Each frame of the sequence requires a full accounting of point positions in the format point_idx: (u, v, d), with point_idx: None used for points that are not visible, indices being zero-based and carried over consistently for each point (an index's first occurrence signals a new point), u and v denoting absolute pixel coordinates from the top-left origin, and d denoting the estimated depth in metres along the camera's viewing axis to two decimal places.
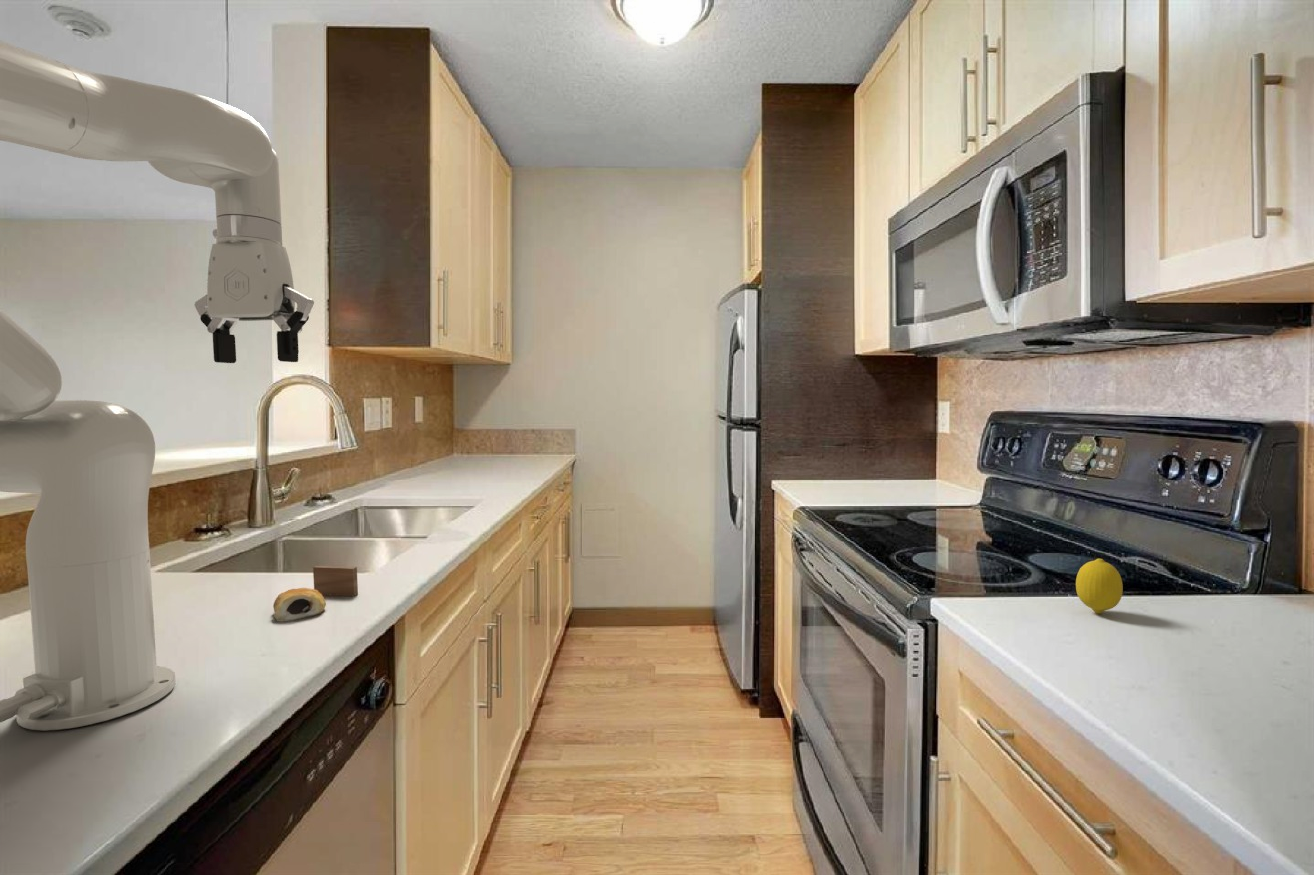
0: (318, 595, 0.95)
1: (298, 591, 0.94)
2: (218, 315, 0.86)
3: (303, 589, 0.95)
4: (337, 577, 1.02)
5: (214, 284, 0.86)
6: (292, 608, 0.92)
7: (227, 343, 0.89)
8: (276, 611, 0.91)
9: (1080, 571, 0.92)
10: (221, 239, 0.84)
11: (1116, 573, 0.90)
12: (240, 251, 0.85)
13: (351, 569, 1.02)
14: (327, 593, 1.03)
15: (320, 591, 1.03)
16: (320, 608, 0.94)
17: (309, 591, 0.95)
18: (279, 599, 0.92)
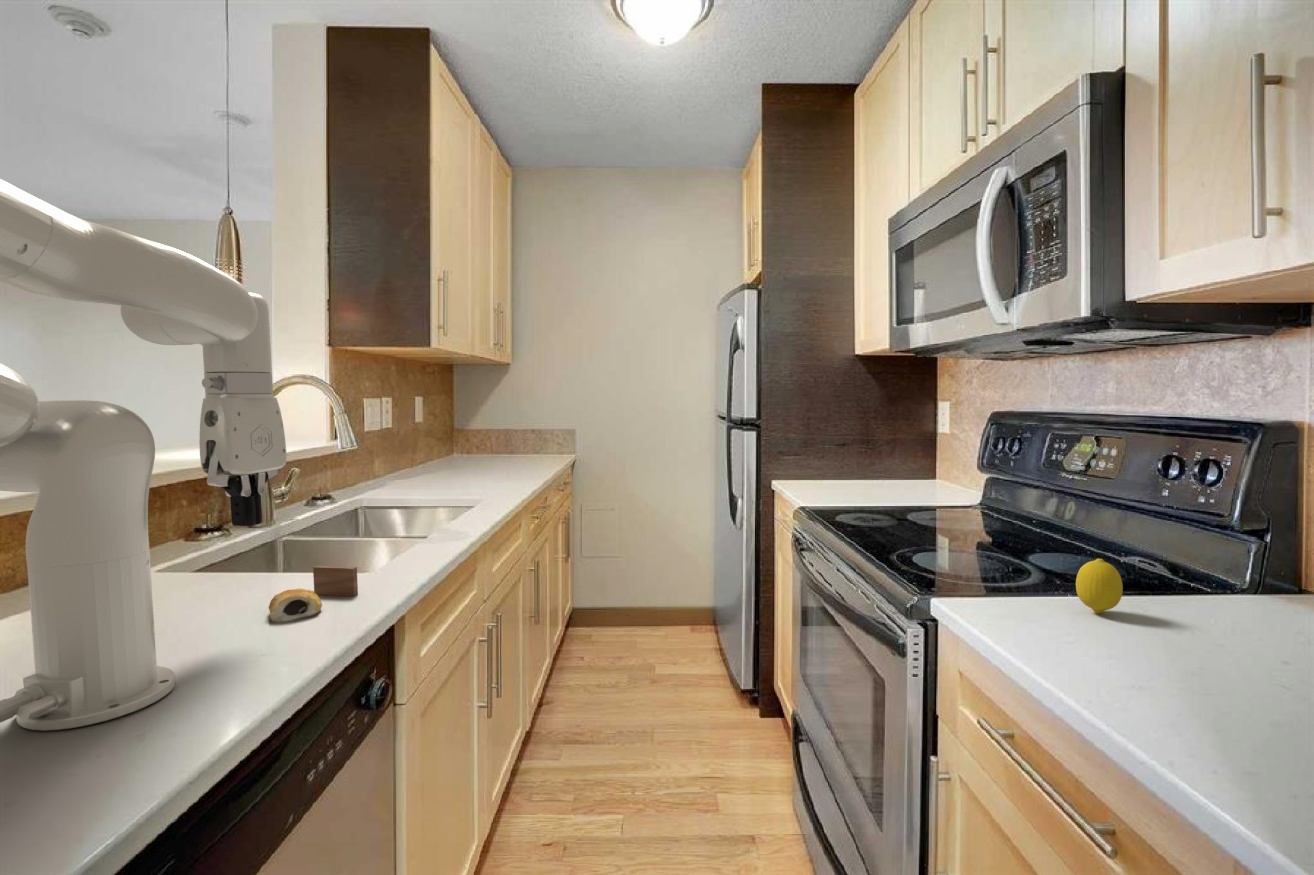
0: (314, 596, 0.95)
1: (294, 592, 0.94)
2: (244, 473, 0.82)
3: (299, 590, 0.95)
4: (337, 577, 1.02)
5: (240, 440, 0.81)
6: (289, 608, 0.92)
7: None
8: (272, 612, 0.91)
9: (1080, 571, 0.92)
10: (256, 396, 0.83)
11: (1116, 573, 0.90)
12: (263, 407, 0.85)
13: (351, 569, 1.02)
14: (327, 593, 1.03)
15: (320, 591, 1.03)
16: (317, 609, 0.93)
17: (305, 592, 0.94)
18: (275, 600, 0.92)
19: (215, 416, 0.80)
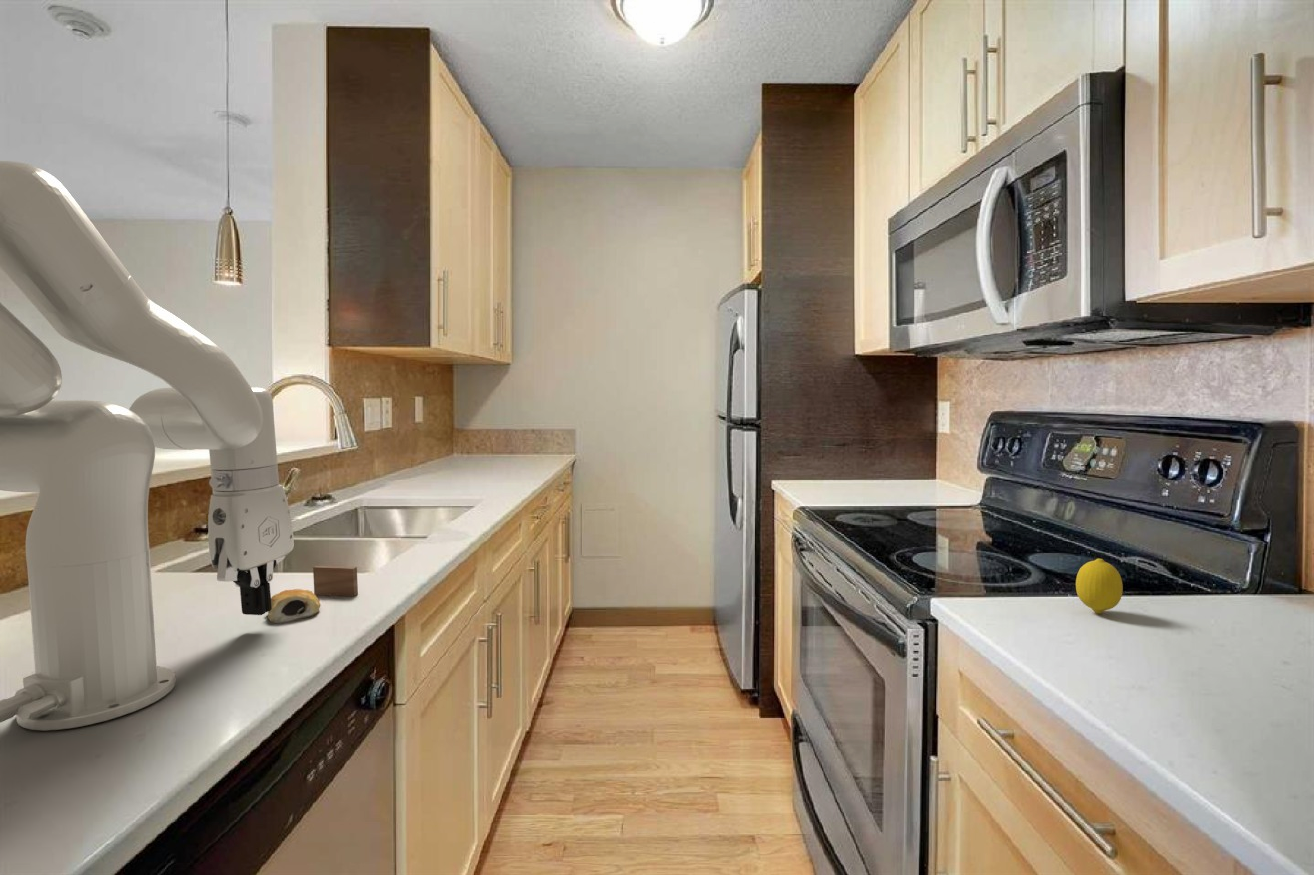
0: (313, 596, 0.95)
1: (292, 592, 0.94)
2: (253, 567, 0.83)
3: (297, 590, 0.95)
4: (337, 577, 1.02)
5: (248, 536, 0.82)
6: (287, 609, 0.91)
7: None
8: (271, 613, 0.91)
9: (1080, 571, 0.92)
10: (263, 490, 0.84)
11: (1116, 573, 0.90)
12: (270, 498, 0.86)
13: (351, 569, 1.02)
14: (327, 593, 1.03)
15: (320, 591, 1.03)
16: (315, 609, 0.93)
17: (303, 592, 0.94)
18: (273, 600, 0.92)
19: (223, 514, 0.82)
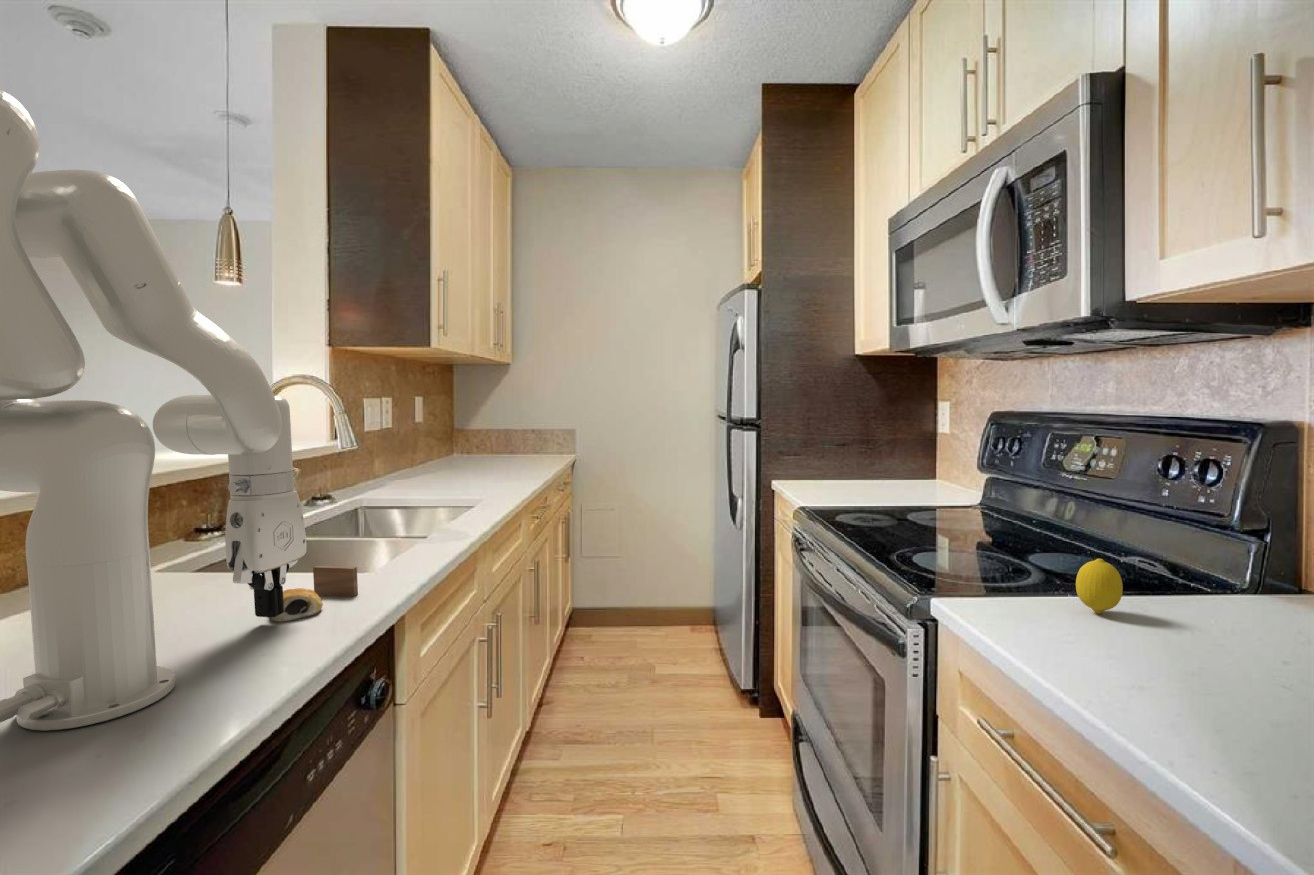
0: (315, 595, 0.95)
1: (295, 591, 0.94)
2: (267, 570, 0.86)
3: (300, 589, 0.95)
4: (337, 577, 1.02)
5: (264, 540, 0.85)
6: (290, 608, 0.92)
7: None
8: None
9: (1080, 571, 0.92)
10: (279, 495, 0.87)
11: (1116, 573, 0.90)
12: (285, 503, 0.89)
13: (351, 569, 1.02)
14: (327, 593, 1.03)
15: (320, 591, 1.03)
16: (318, 608, 0.94)
17: (306, 591, 0.95)
18: None
19: (240, 517, 0.84)
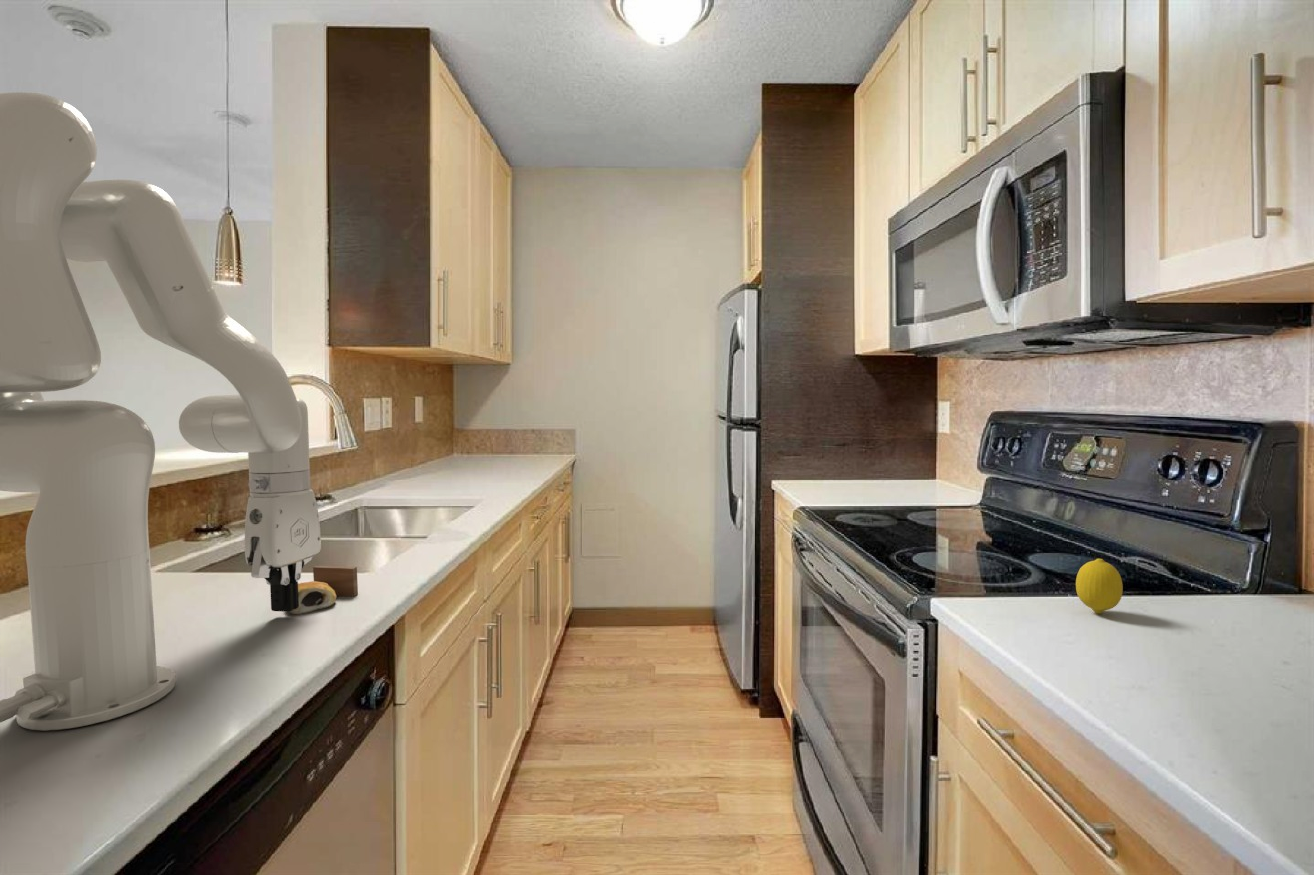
0: (329, 588, 0.98)
1: (310, 584, 0.97)
2: (284, 565, 0.89)
3: (314, 582, 0.98)
4: (337, 577, 1.02)
5: (281, 536, 0.88)
6: (307, 600, 0.95)
7: None
8: None
9: (1080, 571, 0.92)
10: (296, 493, 0.90)
11: (1116, 573, 0.90)
12: (302, 501, 0.92)
13: (351, 569, 1.02)
14: None
15: None
16: (333, 600, 0.97)
17: (320, 584, 0.98)
18: None
19: (259, 514, 0.88)
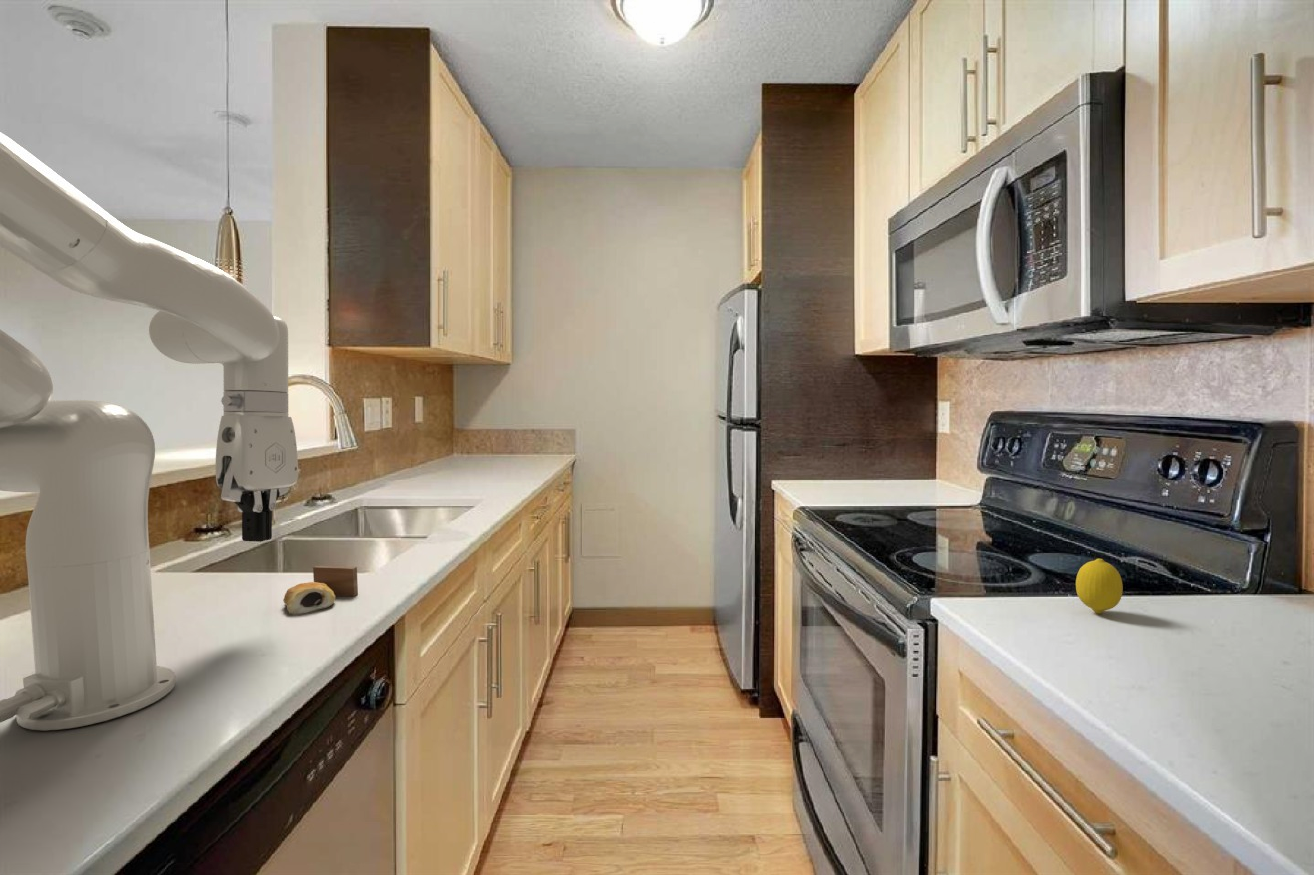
0: (328, 588, 0.98)
1: (309, 585, 0.97)
2: (257, 488, 0.84)
3: (313, 583, 0.98)
4: (337, 577, 1.02)
5: (255, 457, 0.84)
6: (306, 601, 0.95)
7: None
8: (290, 604, 0.94)
9: (1080, 571, 0.92)
10: (272, 414, 0.86)
11: (1116, 573, 0.90)
12: (278, 425, 0.88)
13: (351, 569, 1.02)
14: None
15: None
16: (332, 601, 0.97)
17: (319, 585, 0.98)
18: (291, 593, 0.95)
19: (232, 433, 0.83)
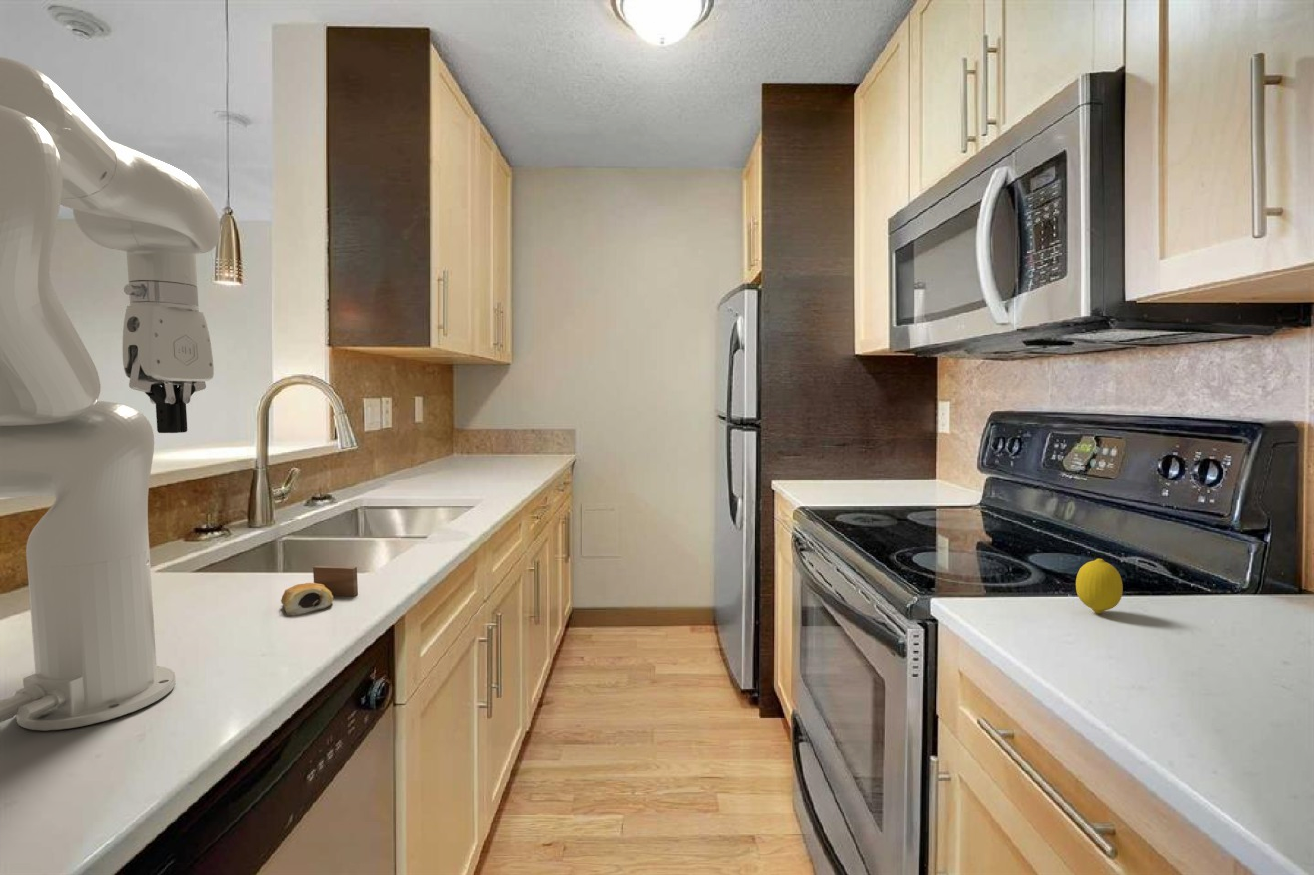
0: (326, 589, 0.98)
1: (307, 586, 0.97)
2: (166, 378, 0.85)
3: (311, 584, 0.98)
4: (337, 577, 1.02)
5: (162, 347, 0.85)
6: (304, 601, 0.95)
7: None
8: (288, 605, 0.94)
9: (1080, 571, 0.92)
10: (179, 306, 0.86)
11: (1116, 573, 0.90)
12: (188, 319, 0.88)
13: (351, 569, 1.02)
14: None
15: None
16: (330, 601, 0.97)
17: (317, 585, 0.98)
18: (289, 594, 0.95)
19: (137, 322, 0.84)
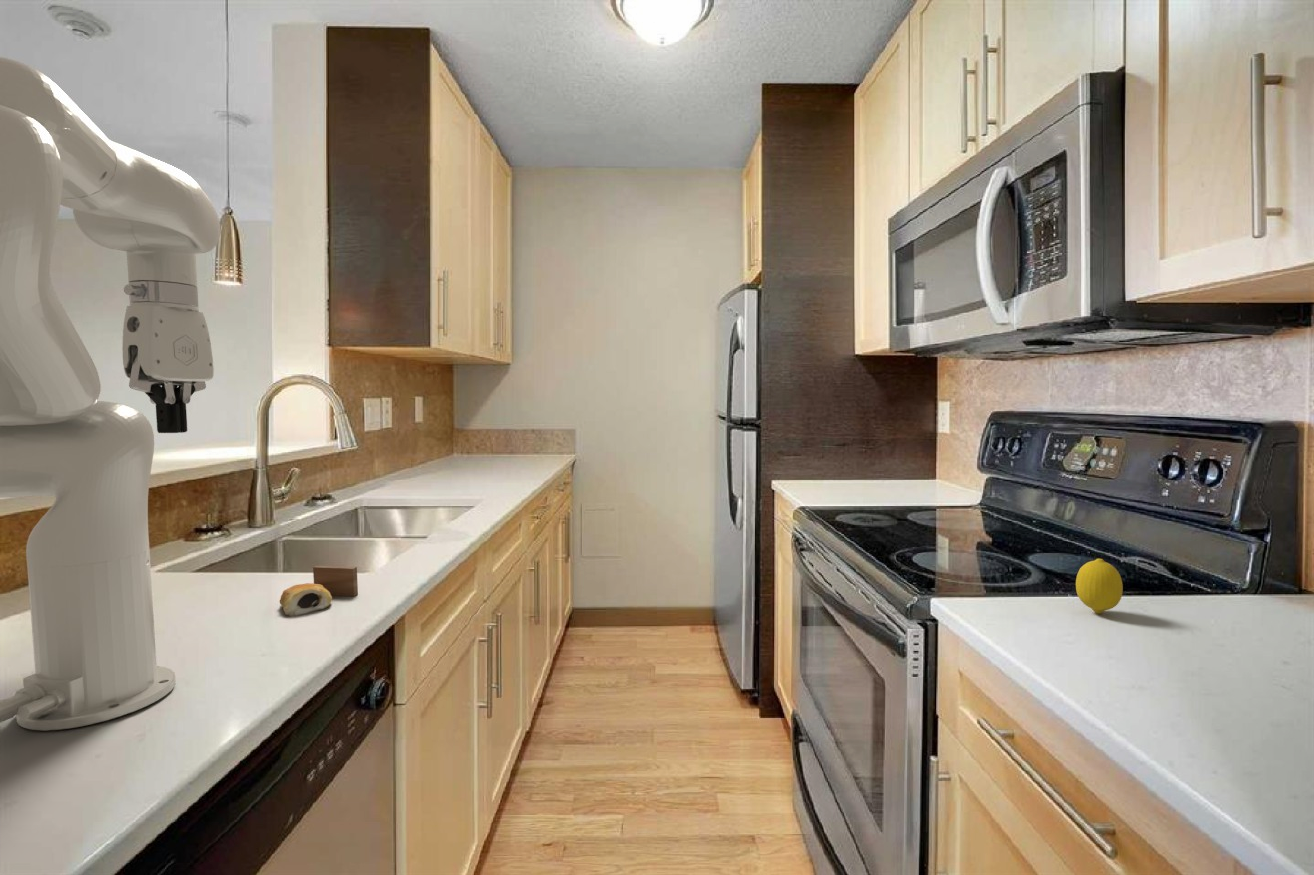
0: (325, 589, 0.98)
1: (305, 586, 0.97)
2: (166, 378, 0.85)
3: (309, 584, 0.98)
4: (337, 577, 1.02)
5: (162, 347, 0.85)
6: (302, 602, 0.94)
7: None
8: (286, 606, 0.94)
9: (1080, 571, 0.92)
10: (179, 306, 0.86)
11: (1116, 573, 0.90)
12: (188, 319, 0.88)
13: (351, 569, 1.02)
14: None
15: None
16: (329, 602, 0.97)
17: (316, 586, 0.97)
18: (288, 594, 0.95)
19: (137, 322, 0.84)
